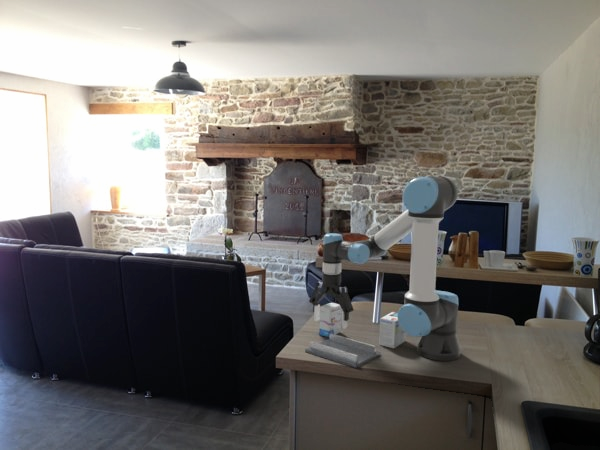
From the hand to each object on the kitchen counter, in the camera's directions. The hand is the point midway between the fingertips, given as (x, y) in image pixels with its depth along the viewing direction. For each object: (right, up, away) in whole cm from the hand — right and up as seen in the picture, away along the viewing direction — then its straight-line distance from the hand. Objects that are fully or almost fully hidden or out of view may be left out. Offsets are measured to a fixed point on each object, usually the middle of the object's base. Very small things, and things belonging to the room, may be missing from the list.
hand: (330, 324), depth 212 cm
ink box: (0, -4, +1) cm, 4 cm away
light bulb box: (+24, -6, -8) cm, 26 cm away
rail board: (+3, -7, -20) cm, 22 cm away
